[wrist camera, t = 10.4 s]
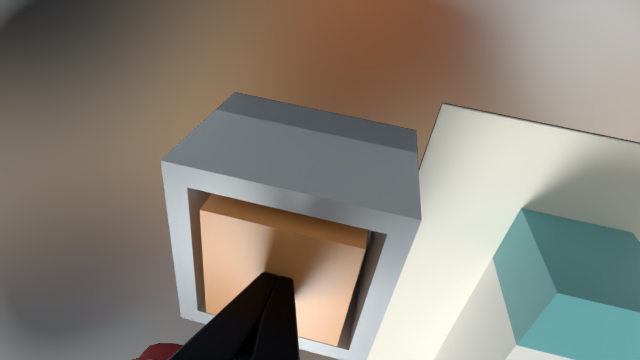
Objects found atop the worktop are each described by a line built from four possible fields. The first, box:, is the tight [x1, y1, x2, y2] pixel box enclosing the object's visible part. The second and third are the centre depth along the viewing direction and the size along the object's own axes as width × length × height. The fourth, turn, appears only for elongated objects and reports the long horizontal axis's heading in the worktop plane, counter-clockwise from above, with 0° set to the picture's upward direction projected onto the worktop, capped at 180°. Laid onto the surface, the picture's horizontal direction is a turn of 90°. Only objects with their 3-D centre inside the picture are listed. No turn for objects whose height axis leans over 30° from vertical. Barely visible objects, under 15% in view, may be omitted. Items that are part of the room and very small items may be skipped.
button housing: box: [161, 92, 422, 360], centre depth 12 cm, size 6×6×4 cm
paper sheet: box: [367, 102, 640, 360], centre depth 15 cm, size 16×11×1 cm
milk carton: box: [433, 208, 640, 360], centre depth 14 cm, size 10×4×4 cm, turn 172°
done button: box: [200, 193, 368, 346], centre depth 11 cm, size 4×4×3 cm
